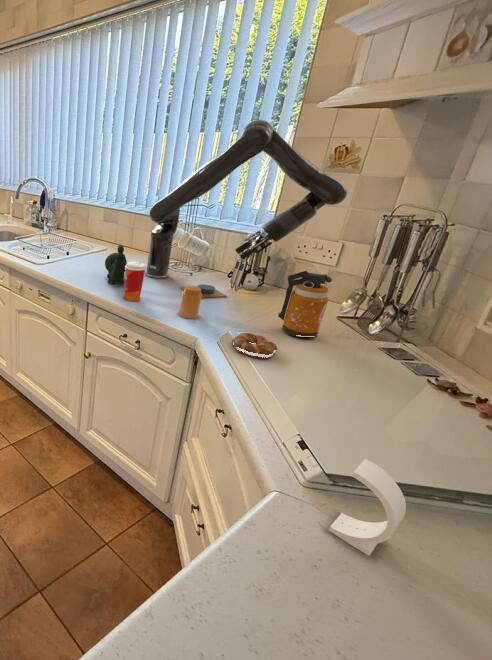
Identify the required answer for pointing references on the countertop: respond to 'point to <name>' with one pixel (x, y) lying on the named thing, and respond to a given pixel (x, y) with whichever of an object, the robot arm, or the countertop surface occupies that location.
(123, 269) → the toy figurine
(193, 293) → the jar
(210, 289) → the lid
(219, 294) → the mat
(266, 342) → the pretzel
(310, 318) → the canister
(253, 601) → the countertop surface
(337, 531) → the headphone stand
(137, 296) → the paper cup
